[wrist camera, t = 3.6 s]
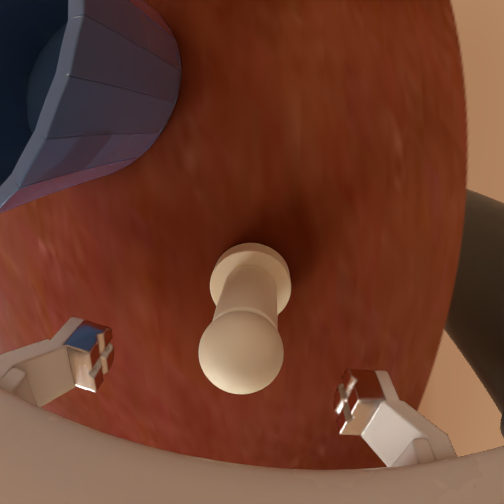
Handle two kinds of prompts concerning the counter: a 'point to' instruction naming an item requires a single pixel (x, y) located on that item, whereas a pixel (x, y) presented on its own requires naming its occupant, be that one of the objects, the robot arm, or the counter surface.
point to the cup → (80, 91)
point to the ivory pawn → (245, 319)
